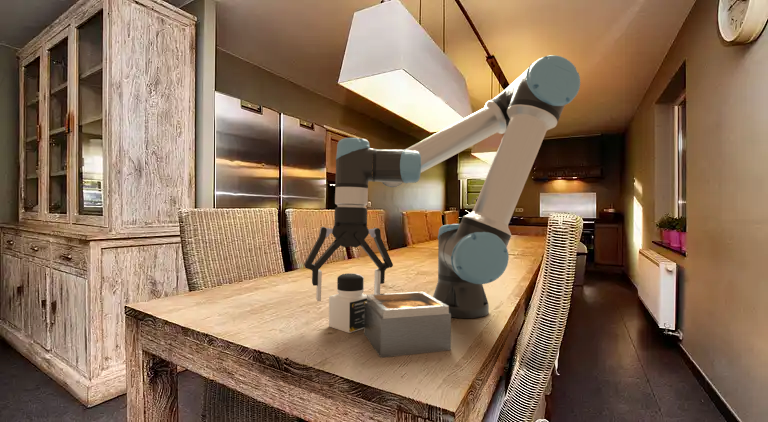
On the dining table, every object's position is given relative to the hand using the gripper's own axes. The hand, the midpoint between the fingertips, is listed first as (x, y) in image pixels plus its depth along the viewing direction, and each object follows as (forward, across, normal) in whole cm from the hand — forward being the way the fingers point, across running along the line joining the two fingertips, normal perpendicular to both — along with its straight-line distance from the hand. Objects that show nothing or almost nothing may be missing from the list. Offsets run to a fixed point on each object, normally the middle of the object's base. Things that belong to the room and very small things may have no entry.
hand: (348, 298), depth 84 cm
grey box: (+6, -10, +13) cm, 17 cm away
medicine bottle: (+7, -1, 0) cm, 7 cm away
